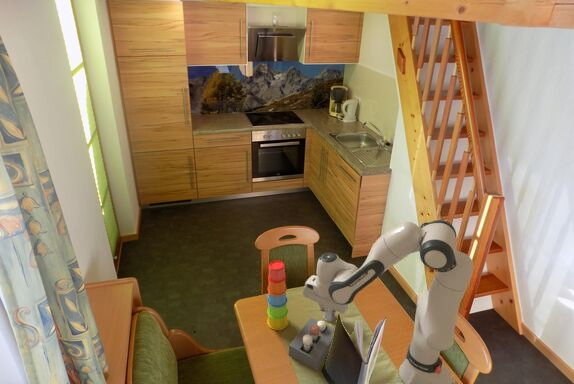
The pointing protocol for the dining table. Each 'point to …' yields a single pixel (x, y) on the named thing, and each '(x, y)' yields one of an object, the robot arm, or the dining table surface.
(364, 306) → the dining table surface
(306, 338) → the knob
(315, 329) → the knob mid
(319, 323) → the knob
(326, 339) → the console
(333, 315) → the beer glass
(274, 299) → the stacking cups
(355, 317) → the dining table surface
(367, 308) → the dining table surface
